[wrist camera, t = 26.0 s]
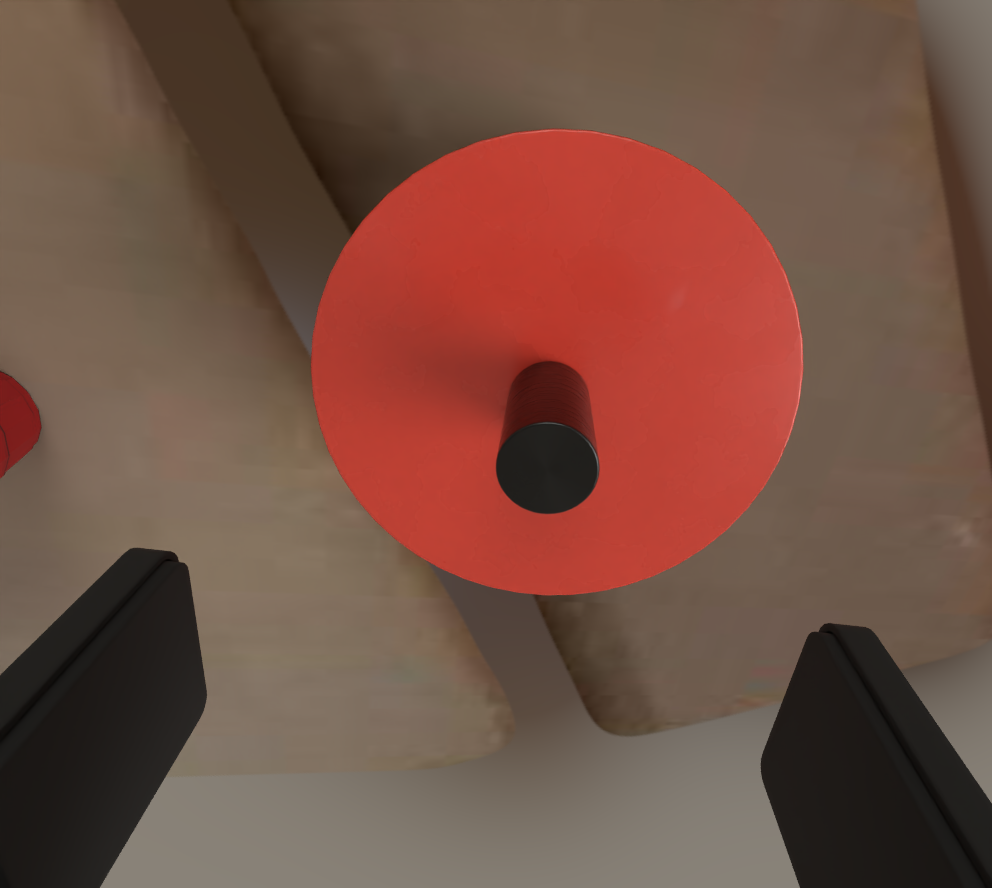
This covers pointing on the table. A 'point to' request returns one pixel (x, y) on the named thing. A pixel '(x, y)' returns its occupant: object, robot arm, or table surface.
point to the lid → (557, 361)
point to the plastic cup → (16, 422)
